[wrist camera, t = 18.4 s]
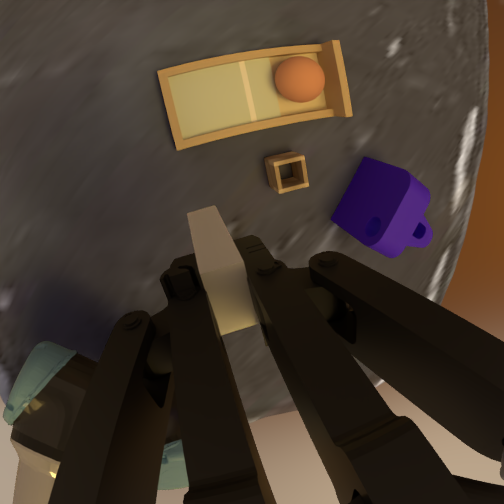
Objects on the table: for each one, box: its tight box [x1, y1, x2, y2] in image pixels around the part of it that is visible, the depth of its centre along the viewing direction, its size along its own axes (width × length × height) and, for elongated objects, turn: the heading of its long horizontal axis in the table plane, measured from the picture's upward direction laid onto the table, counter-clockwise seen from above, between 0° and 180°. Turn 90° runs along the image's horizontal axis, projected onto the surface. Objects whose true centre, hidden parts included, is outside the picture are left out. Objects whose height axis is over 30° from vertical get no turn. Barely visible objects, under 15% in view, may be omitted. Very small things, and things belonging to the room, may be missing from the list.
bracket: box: [330, 157, 433, 258], centre depth 44 cm, size 18×11×12 cm, turn 62°
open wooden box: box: [264, 151, 309, 194], centre depth 40 cm, size 4×4×4 cm
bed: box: [157, 40, 353, 151], centre depth 34 cm, size 22×10×5 cm, turn 101°
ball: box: [275, 56, 325, 103], centre depth 34 cm, size 6×6×6 cm
